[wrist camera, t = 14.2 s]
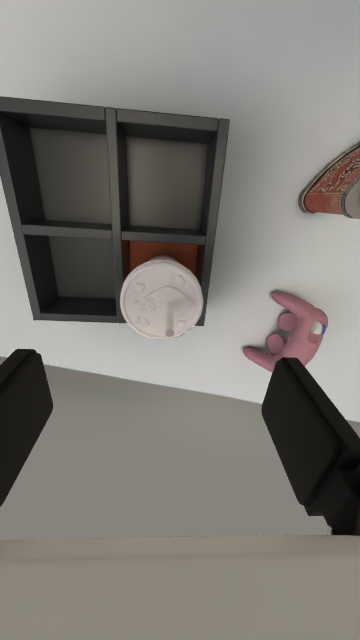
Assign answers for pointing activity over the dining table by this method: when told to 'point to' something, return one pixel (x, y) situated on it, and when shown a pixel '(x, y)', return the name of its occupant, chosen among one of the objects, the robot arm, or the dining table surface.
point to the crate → (106, 199)
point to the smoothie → (161, 298)
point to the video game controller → (303, 339)
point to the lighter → (335, 187)
